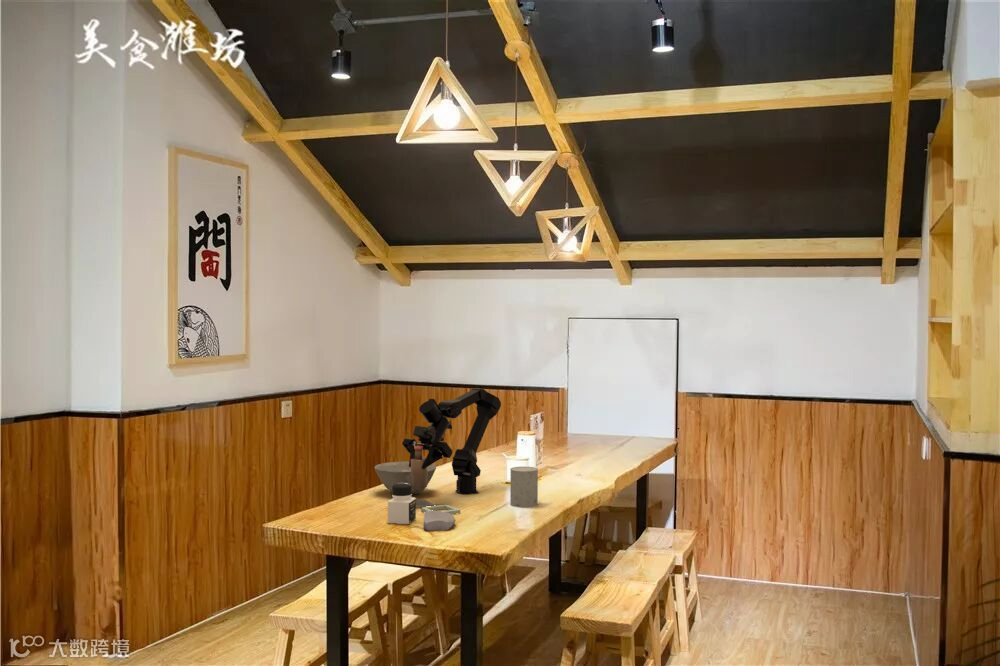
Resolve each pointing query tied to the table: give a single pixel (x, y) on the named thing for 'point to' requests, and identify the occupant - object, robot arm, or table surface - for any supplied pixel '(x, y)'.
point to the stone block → (438, 521)
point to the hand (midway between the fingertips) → (416, 467)
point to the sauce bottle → (418, 469)
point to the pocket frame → (450, 508)
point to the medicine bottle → (401, 505)
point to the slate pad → (424, 503)
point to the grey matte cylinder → (524, 487)
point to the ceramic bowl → (400, 474)
